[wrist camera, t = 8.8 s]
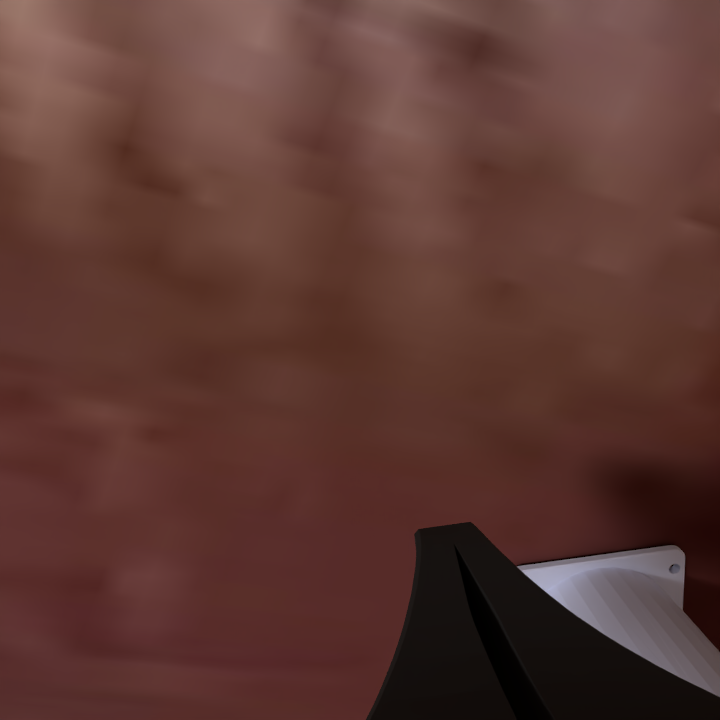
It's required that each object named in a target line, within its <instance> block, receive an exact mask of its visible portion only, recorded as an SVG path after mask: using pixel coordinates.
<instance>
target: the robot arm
mask: <svg viewBox="0 0 720 720" xmlns="http://www.w3.org/2000/svg"><path fill="white" fill-rule="evenodd" d="M414 535H415V544H416V567H415V574H414V580H413V587H412V593H411V598H410V602H409V606H408V610H407V614H406V618H405V622H404V626H403V629H402V633H401V636H400V639H399V642H398V645H397V648H396V651H395V654H394V657H393V660H392V662H391V665H390V667H389V670H388V672H387V675H386V677H385V680H384V682H383V685H382V687H381V690H380V692H379V694H378V696H377V699H376V701H375V703H374V705H373V707H372V709H371V711H370V713H369V715H368V717H367V719H366V720H720V652H719V651H718V649H717V648H716V647H715V646H714V645H713V644H712V643H711V642H710V641H709V639H708V638H707V637H706V636H705V635H704V634H703V633H702V632H701V630H700V629H699V628H698V627H697V626H696V625H695V624H694V623H693V622H692V620H691V619H690V618H689V617H688V616H687V615H686V614H685V613H684V612H683V594H684V574H685V554H684V552H683V551H682V550H681V549H680V548H679V547H677V546H675V545H668V546H660V547H653V548H646V549H639V550H631V551H624V552H617V553H610V554H602V555H595V556H588V557H581V558H573V559H566V560H559V561H552V562H544V563H537V564H530V565H523V566H517V567H516V566H515V565H514V564H513V563H512V562H511V561H510V560H509V559H508V558H507V557H506V556H505V555H504V554H503V553H502V552H501V551H500V550H499V549H497V548H496V547H495V546H494V545H493V544H492V543H491V542H490V541H489V540H488V538H487V537H486V536H485V535H484V534H483V533H482V532H481V531H480V530H479V529H478V528H477V527H476V526H475V525H474V524H473V523H471V522H467V523H459V524H452V525H445V526H438V527H430V528H423V529H418V531H417V532H416V533H415V534H414ZM673 564H674V565H673ZM671 565H673V566H672V567H670V566H671Z"/></svg>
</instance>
